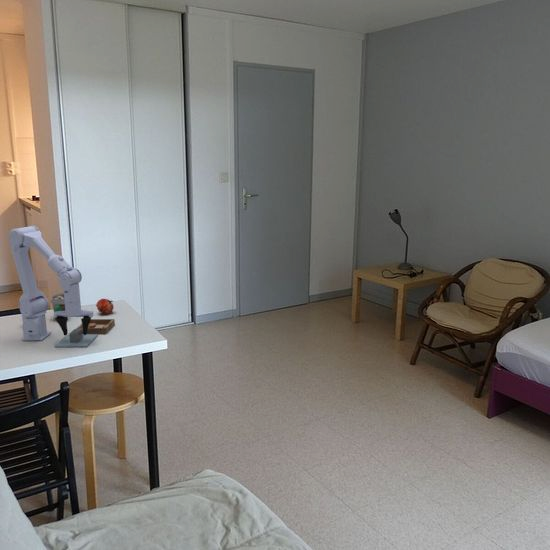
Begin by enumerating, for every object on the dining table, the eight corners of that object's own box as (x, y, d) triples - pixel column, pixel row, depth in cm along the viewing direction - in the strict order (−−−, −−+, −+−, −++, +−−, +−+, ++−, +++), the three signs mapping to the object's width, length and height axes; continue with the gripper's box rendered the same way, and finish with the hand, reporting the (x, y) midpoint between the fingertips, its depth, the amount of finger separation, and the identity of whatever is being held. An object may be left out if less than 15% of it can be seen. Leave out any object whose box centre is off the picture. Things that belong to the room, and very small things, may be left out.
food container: (51, 315, 239) (49, 294, 237) (66, 313, 242) (64, 292, 240) (52, 323, 228) (50, 301, 226) (68, 321, 231) (66, 299, 229)
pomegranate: (95, 320, 240) (109, 309, 236) (88, 306, 241) (101, 295, 237) (107, 317, 246) (120, 306, 242) (99, 304, 247) (113, 293, 243)
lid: (87, 348, 201) (86, 336, 200) (54, 348, 201) (53, 336, 200) (97, 337, 213) (96, 326, 212) (66, 337, 213) (65, 326, 212)
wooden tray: (106, 334, 215) (105, 328, 214) (76, 334, 215) (76, 328, 214) (114, 324, 227) (114, 319, 226) (86, 324, 227) (86, 319, 226)
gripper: (94, 297, 206) (97, 331, 209) (57, 298, 206) (60, 331, 209) (88, 303, 199) (91, 337, 203) (50, 303, 199) (53, 337, 202)
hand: (75, 334), depth 205 cm, fingers open, 7 cm apart
